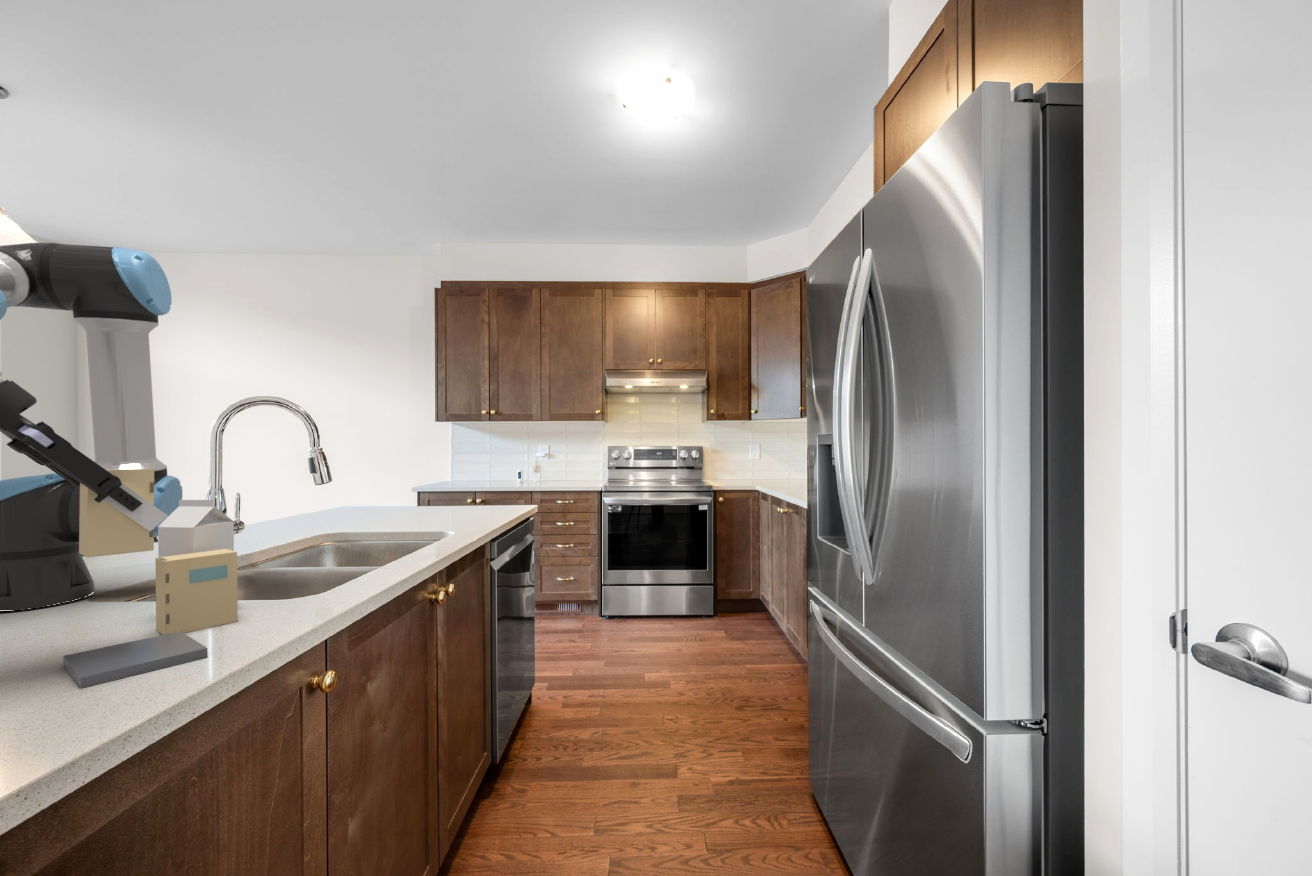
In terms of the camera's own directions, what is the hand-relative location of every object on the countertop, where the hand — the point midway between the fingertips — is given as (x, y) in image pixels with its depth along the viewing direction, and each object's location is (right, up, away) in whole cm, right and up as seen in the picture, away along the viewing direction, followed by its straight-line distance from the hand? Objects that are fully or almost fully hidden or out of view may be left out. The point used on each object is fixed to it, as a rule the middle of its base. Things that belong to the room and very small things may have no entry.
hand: (152, 521), depth 81 cm
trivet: (+3, -17, -5) cm, 18 cm away
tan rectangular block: (-2, -4, -3) cm, 5 cm away
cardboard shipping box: (-1, -17, +9) cm, 20 cm away
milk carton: (-6, -18, +16) cm, 25 cm away
